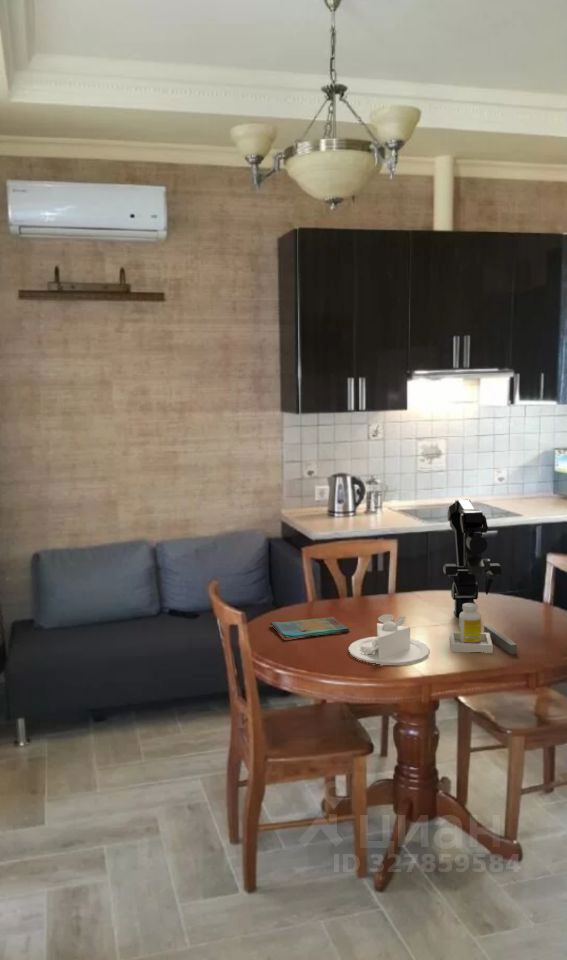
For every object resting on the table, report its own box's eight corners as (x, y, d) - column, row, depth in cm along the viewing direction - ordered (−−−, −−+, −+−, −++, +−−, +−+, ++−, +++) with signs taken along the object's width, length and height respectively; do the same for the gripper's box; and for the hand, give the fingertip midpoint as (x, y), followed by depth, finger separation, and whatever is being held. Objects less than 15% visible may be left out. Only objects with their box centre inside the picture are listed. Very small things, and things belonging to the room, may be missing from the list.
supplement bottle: (485, 645, 249) (485, 605, 248) (468, 649, 246) (468, 608, 245) (471, 639, 255) (471, 600, 253) (454, 643, 252) (454, 603, 251)
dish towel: (269, 628, 276) (269, 621, 276) (332, 620, 283) (332, 613, 283) (284, 643, 260) (284, 635, 259) (350, 634, 267) (350, 627, 266)
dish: (364, 636, 264) (364, 603, 262) (438, 645, 253) (438, 611, 251) (336, 660, 242) (335, 624, 240) (416, 671, 231) (416, 633, 229)
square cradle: (451, 651, 245) (451, 644, 245) (449, 639, 258) (449, 631, 257) (492, 653, 243) (492, 645, 243) (489, 640, 256) (489, 632, 255)
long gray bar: (516, 654, 242) (516, 644, 242) (510, 654, 242) (510, 645, 241) (489, 634, 262) (489, 625, 261) (483, 634, 261) (484, 625, 261)
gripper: (448, 553, 257) (448, 600, 258) (506, 552, 256) (506, 599, 257) (442, 547, 268) (443, 592, 269) (498, 546, 267) (499, 592, 268)
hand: (472, 594), depth 266 cm, fingers open, 9 cm apart
